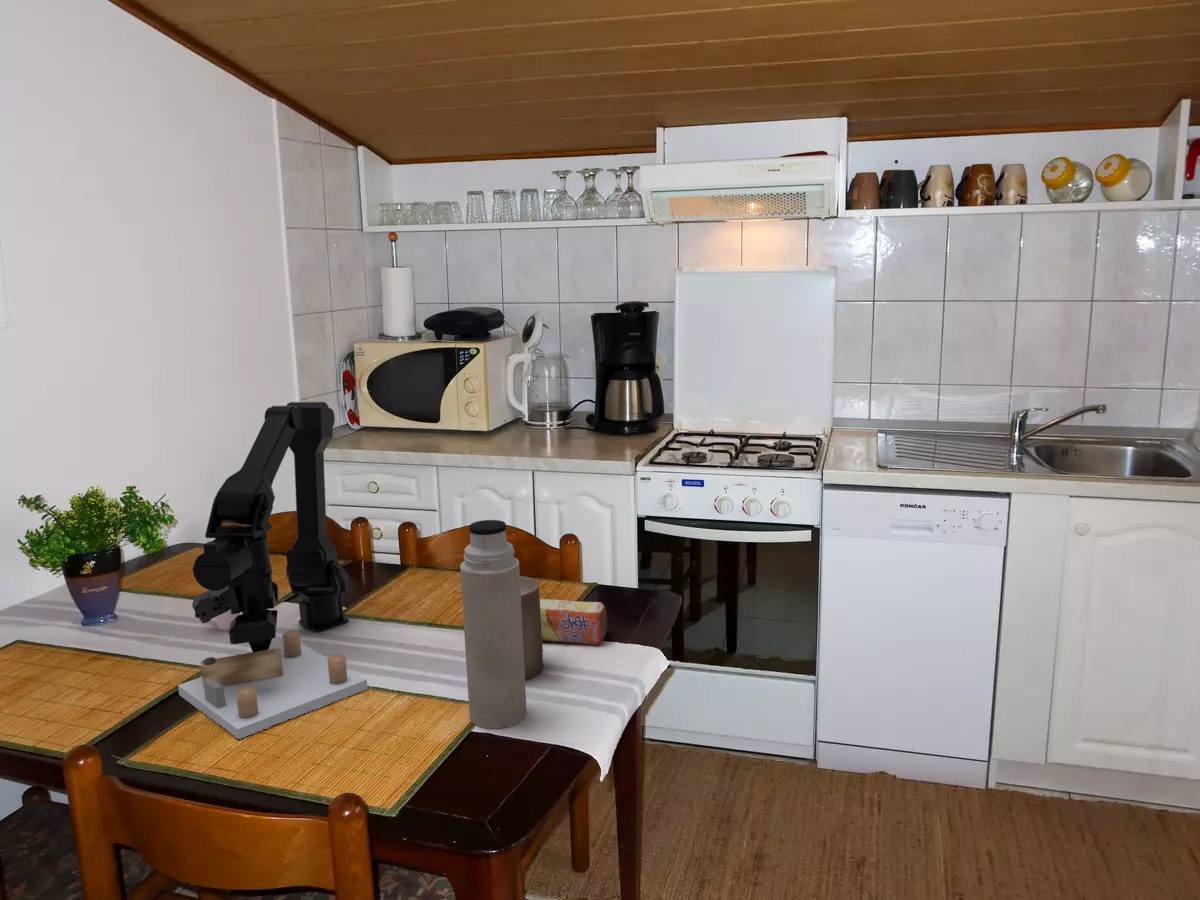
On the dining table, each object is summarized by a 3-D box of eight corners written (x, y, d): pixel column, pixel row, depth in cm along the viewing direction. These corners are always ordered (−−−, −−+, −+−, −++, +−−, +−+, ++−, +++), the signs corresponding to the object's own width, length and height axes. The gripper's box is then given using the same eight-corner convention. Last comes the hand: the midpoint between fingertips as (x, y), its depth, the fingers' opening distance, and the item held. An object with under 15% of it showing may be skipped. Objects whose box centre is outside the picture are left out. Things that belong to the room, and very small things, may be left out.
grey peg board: (302, 652, 155) (299, 623, 154) (367, 689, 141) (364, 657, 140) (179, 695, 141) (175, 663, 140) (238, 740, 127) (234, 705, 126)
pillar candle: (552, 658, 150) (547, 569, 147) (531, 685, 141) (526, 590, 138) (495, 654, 152) (489, 566, 149) (471, 680, 143) (464, 586, 140)
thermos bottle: (484, 698, 137) (474, 513, 131) (535, 705, 134) (526, 517, 129) (459, 724, 130) (446, 529, 124) (512, 732, 127) (502, 533, 121)
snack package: (609, 633, 160) (608, 595, 158) (601, 649, 153) (599, 610, 152) (489, 626, 164) (487, 590, 163) (477, 642, 158) (475, 604, 156)
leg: (203, 689, 139) (200, 664, 138) (203, 682, 141) (200, 657, 140) (283, 675, 143) (280, 650, 142) (282, 669, 145) (279, 644, 144)
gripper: (199, 554, 148) (210, 646, 152) (185, 595, 131) (198, 698, 134) (273, 546, 151) (283, 636, 155) (269, 584, 134) (280, 685, 137)
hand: (261, 662), depth 145 cm, fingers closed
